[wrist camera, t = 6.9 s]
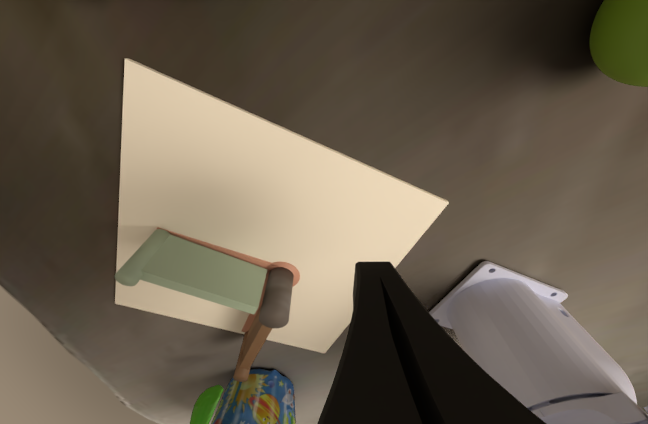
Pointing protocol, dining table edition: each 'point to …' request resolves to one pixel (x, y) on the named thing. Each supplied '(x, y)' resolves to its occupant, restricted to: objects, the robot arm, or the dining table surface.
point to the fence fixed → (266, 319)
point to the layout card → (254, 206)
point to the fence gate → (195, 272)
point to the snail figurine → (621, 41)
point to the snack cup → (248, 401)
